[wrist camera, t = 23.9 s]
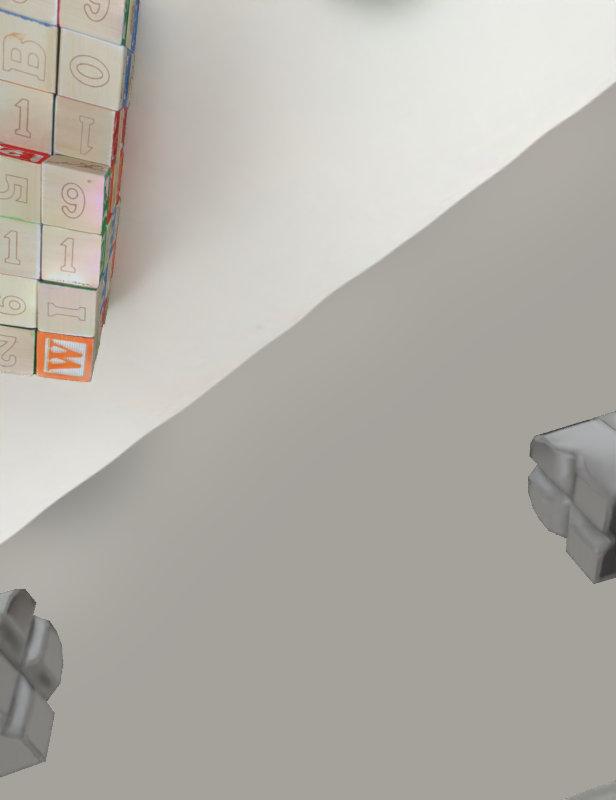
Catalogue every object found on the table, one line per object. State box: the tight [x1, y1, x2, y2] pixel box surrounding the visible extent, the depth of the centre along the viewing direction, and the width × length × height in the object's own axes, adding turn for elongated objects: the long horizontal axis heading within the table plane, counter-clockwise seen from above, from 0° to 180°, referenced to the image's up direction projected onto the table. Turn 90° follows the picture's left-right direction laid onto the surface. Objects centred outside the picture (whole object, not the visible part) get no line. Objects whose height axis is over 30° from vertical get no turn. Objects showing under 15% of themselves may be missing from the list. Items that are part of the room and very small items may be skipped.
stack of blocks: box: [0, 0, 139, 382], centre depth 32 cm, size 21×6×12 cm, turn 165°
